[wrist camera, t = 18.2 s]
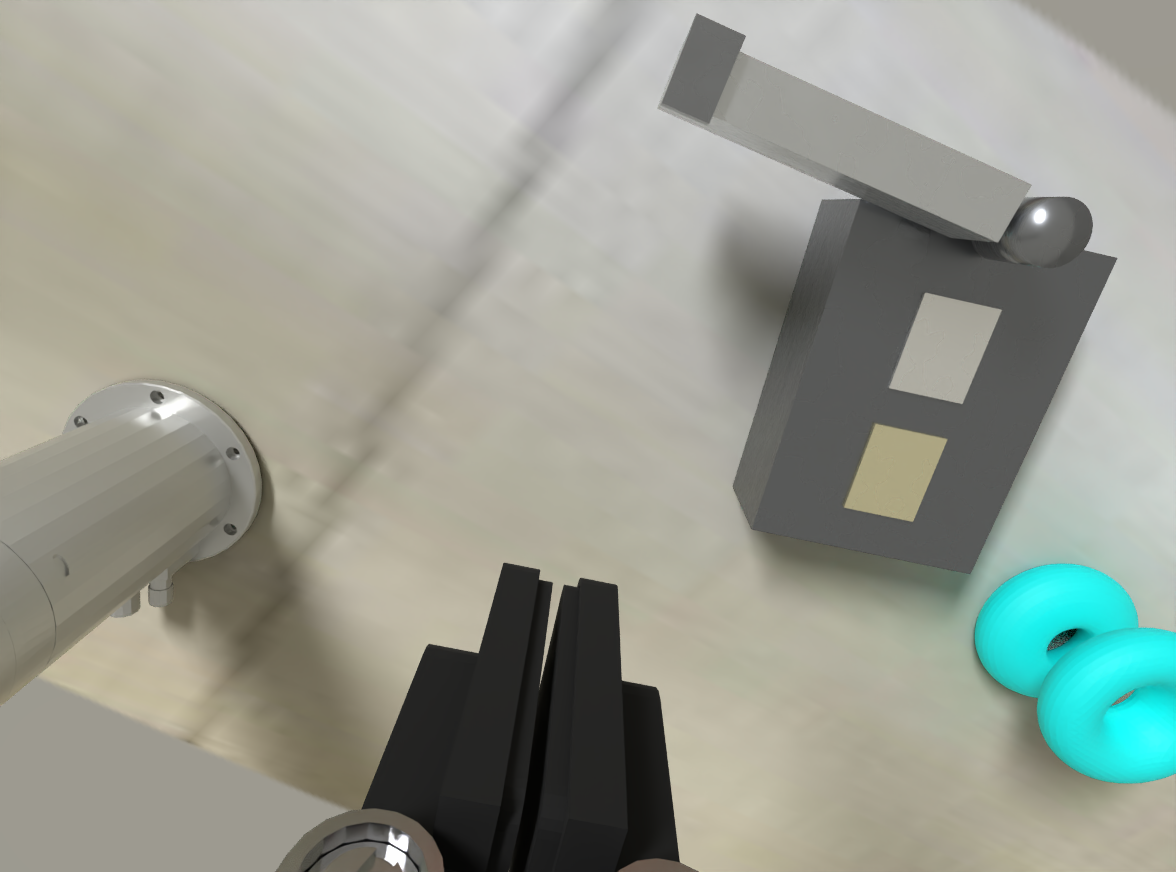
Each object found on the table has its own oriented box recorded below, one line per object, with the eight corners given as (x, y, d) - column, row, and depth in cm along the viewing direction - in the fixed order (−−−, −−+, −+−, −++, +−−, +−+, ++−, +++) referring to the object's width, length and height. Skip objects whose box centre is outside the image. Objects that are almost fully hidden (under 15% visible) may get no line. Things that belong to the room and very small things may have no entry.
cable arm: (1047, 207, 31) (1121, 208, 26) (1008, 273, 32) (1072, 284, 27) (683, 42, 29) (696, 13, 24) (653, 117, 30) (661, 103, 25)
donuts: (1291, 701, 36) (1151, 820, 39) (1148, 597, 45) (1045, 699, 48) (1153, 620, 34) (1019, 749, 37) (1035, 530, 44) (936, 639, 47)
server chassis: (923, 526, 44) (975, 579, 38) (732, 486, 43) (753, 534, 37) (1057, 210, 37) (1149, 211, 31) (834, 158, 37) (881, 148, 30)
